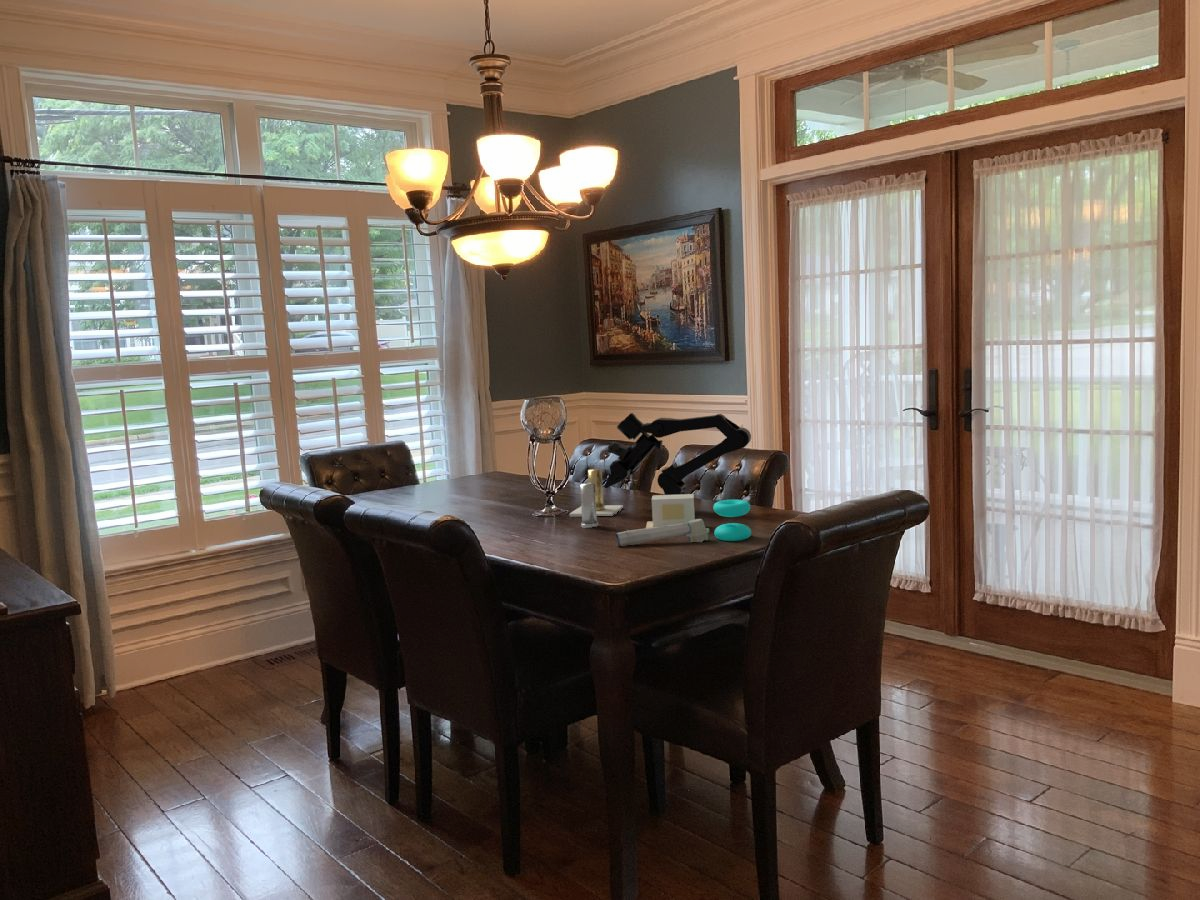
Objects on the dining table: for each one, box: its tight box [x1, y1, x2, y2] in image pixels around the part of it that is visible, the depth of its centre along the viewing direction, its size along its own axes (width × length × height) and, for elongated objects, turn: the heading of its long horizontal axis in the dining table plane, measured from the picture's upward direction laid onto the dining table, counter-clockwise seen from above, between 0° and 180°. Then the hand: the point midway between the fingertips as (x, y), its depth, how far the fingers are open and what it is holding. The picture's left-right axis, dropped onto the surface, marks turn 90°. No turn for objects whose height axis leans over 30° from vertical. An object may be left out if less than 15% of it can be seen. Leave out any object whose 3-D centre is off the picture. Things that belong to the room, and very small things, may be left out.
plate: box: [568, 504, 624, 518], centre depth 308 cm, size 14×14×1 cm
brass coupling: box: [587, 468, 605, 511], centre depth 307 cm, size 5×5×13 cm
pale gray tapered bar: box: [615, 518, 710, 547], centre depth 258 cm, size 5×7×25 cm
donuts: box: [712, 499, 752, 542], centre depth 260 cm, size 10×10×10 cm
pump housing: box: [645, 493, 696, 528], centre depth 278 cm, size 12×16×9 cm
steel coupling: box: [579, 482, 599, 529], centre depth 285 cm, size 5×5×13 cm
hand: (608, 484), depth 306 cm, fingers open, 9 cm apart
